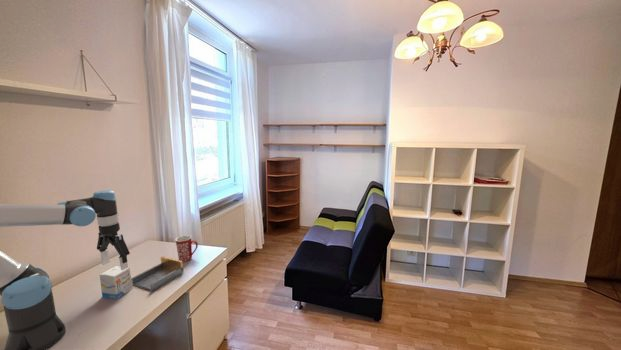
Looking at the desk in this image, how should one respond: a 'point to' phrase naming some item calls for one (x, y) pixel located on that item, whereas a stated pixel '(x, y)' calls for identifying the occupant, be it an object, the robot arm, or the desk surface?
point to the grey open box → (159, 274)
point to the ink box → (115, 282)
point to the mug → (185, 247)
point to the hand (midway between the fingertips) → (115, 266)
